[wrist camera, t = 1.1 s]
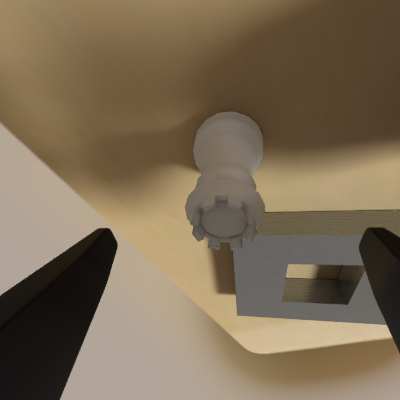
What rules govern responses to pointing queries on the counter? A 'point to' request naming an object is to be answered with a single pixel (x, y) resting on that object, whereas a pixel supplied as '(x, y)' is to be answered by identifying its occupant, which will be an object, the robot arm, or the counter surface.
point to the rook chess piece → (226, 181)
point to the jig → (309, 254)
